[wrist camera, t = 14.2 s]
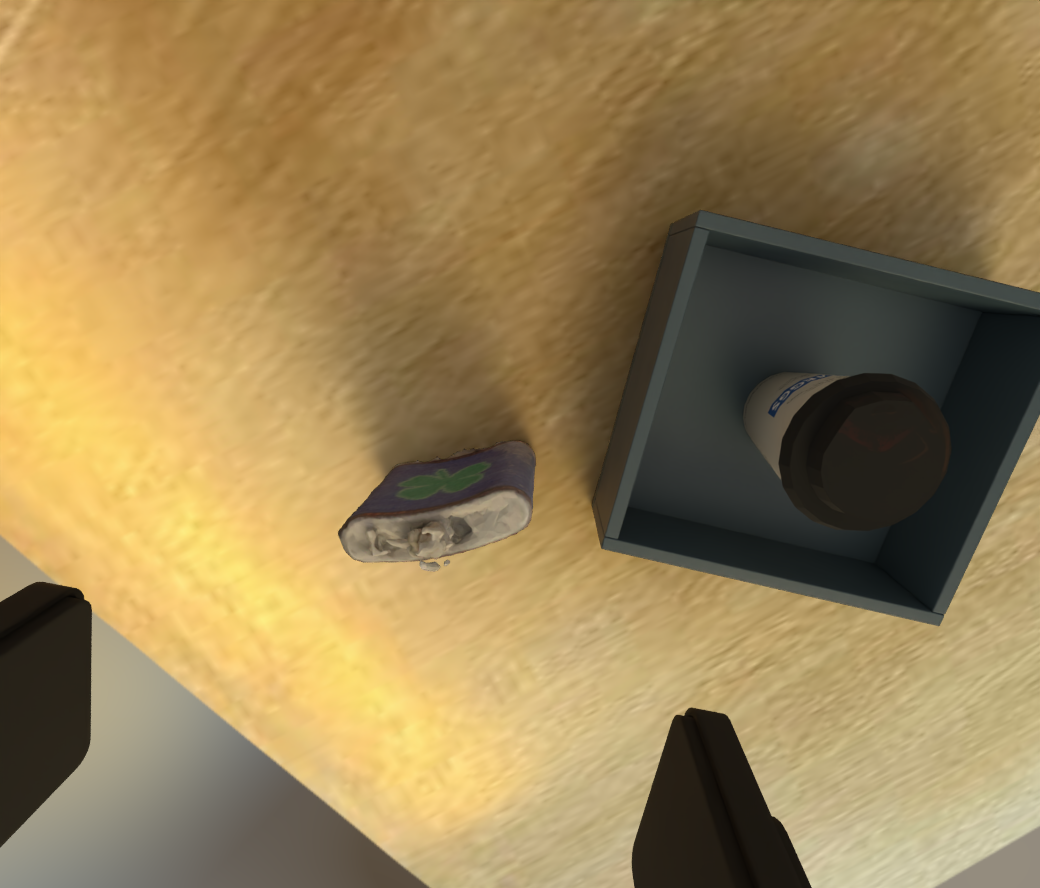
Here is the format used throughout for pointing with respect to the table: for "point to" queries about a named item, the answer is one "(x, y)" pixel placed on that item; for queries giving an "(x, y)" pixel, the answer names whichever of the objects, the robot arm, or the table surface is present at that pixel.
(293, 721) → the table surface
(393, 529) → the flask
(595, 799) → the table surface
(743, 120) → the table surface
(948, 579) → the tub
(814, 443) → the coffee cup
